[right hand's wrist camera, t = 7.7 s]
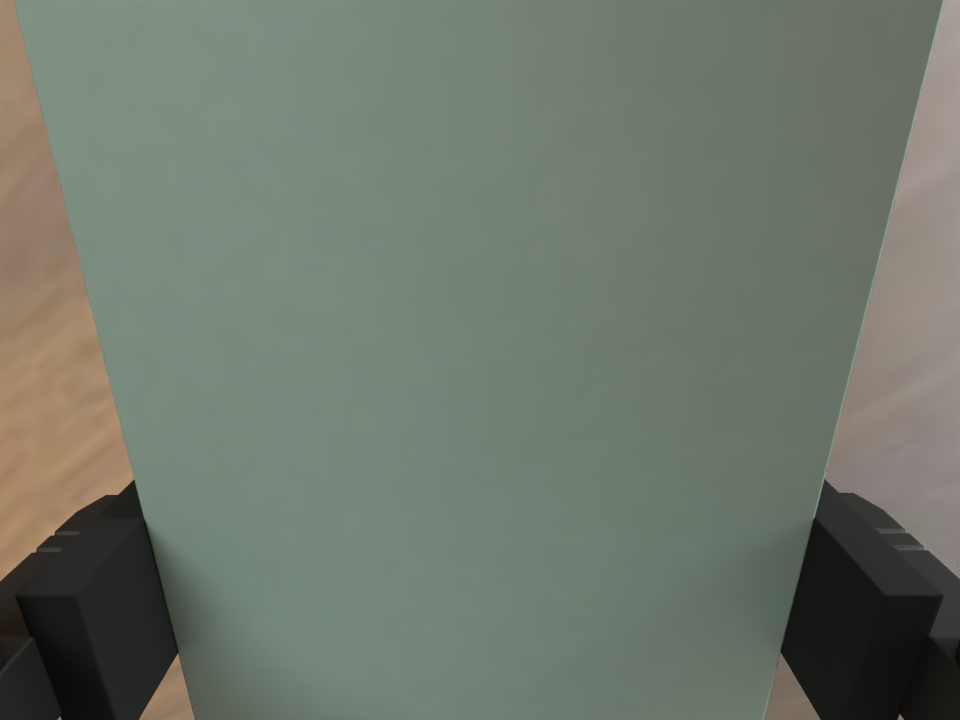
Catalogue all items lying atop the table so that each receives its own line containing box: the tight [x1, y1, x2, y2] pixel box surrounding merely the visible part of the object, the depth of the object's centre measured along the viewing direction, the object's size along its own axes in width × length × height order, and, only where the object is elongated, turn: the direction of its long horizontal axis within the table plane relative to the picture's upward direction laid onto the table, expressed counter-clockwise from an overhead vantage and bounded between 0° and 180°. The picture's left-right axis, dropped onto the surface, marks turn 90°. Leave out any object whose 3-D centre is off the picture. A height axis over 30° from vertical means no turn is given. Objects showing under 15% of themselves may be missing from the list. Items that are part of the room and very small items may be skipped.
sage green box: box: [14, 0, 945, 720], centre depth 13 cm, size 16×10×10 cm, turn 0°
